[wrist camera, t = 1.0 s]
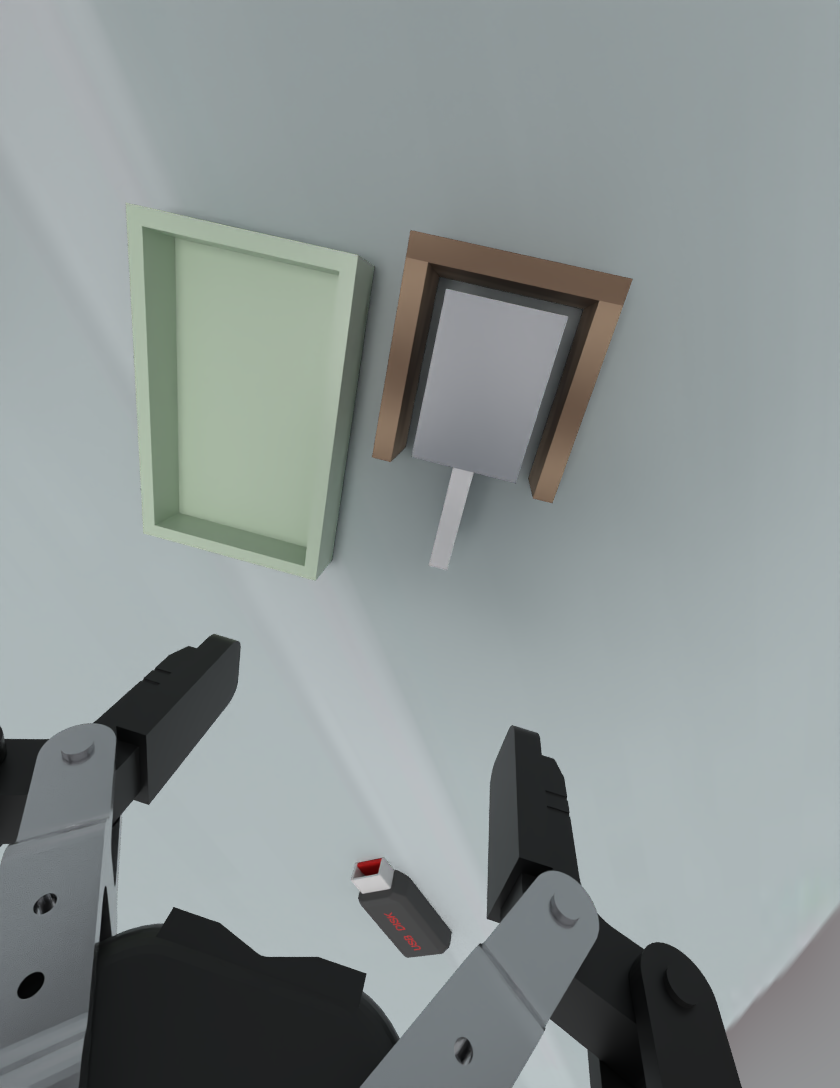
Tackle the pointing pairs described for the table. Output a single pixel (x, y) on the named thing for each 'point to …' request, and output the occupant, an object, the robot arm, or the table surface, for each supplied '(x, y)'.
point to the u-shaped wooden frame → (513, 275)
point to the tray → (243, 386)
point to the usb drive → (400, 909)
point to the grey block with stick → (482, 396)
